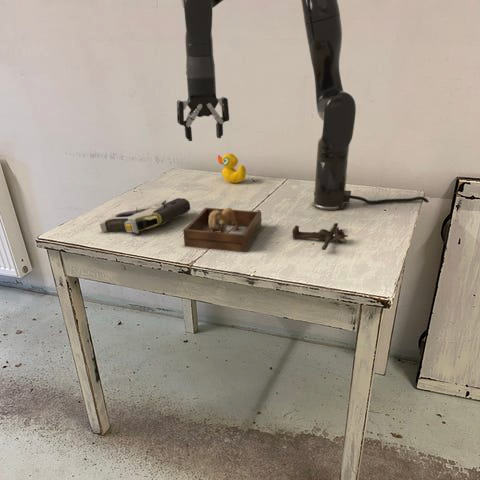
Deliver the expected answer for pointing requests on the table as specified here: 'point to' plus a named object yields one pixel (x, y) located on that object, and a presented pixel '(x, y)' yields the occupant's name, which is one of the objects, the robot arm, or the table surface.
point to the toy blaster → (146, 216)
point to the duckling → (232, 169)
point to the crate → (221, 239)
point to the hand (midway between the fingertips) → (204, 139)
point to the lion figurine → (222, 220)
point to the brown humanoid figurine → (322, 235)
